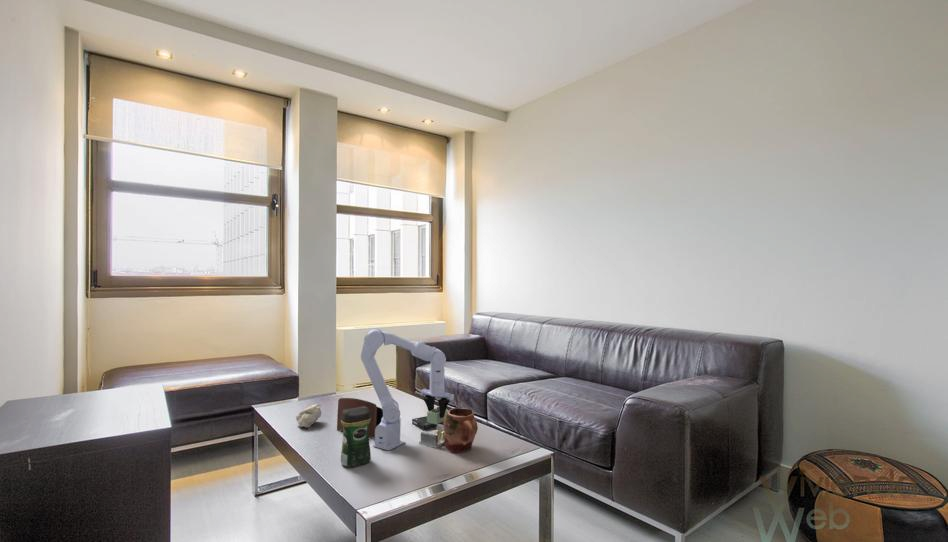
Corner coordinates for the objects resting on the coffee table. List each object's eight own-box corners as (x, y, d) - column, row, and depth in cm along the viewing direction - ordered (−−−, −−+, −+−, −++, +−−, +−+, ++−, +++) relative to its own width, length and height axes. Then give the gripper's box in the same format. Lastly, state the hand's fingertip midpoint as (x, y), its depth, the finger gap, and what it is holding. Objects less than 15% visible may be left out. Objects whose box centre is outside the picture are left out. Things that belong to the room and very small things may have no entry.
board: (436, 424, 167) (436, 411, 167) (427, 422, 169) (427, 409, 169) (446, 419, 173) (447, 407, 173) (437, 417, 175) (437, 405, 175)
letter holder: (375, 438, 172) (375, 402, 172) (336, 430, 181) (336, 396, 181) (390, 430, 181) (390, 396, 181) (352, 423, 190) (353, 390, 190)
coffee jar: (364, 455, 156) (364, 402, 156) (373, 463, 149) (374, 408, 150) (337, 462, 150) (338, 407, 150) (345, 470, 144) (346, 413, 144)
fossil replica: (295, 431, 180) (320, 430, 183) (297, 411, 180) (322, 410, 183) (295, 419, 191) (319, 419, 195) (297, 401, 191) (321, 400, 194)
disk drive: (423, 432, 181) (453, 425, 190) (423, 425, 181) (453, 418, 190) (411, 425, 189) (440, 418, 198) (411, 418, 189) (440, 412, 198)
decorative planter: (489, 456, 156) (489, 416, 156) (459, 463, 150) (459, 422, 150) (461, 438, 173) (462, 402, 174) (433, 443, 167) (434, 407, 167)
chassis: (436, 448, 163) (436, 436, 163) (419, 443, 167) (419, 432, 167) (454, 437, 173) (454, 427, 174) (437, 433, 178) (438, 423, 178)
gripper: (458, 381, 171) (458, 416, 171) (428, 376, 178) (427, 410, 178) (448, 385, 165) (447, 421, 164) (417, 380, 172) (417, 415, 172)
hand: (436, 416), depth 171 cm, fingers closed on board, 4 cm apart
